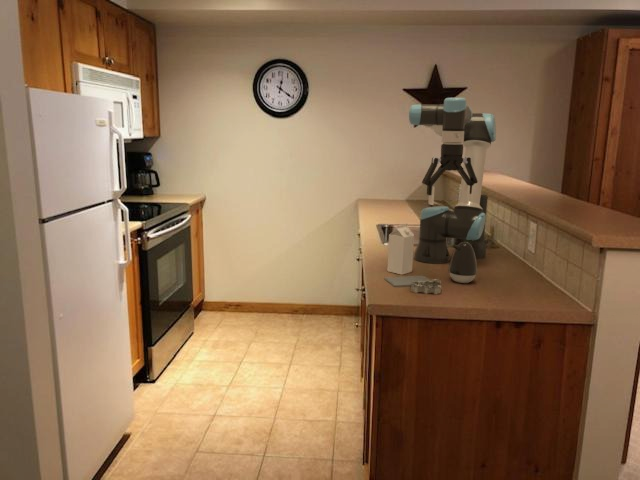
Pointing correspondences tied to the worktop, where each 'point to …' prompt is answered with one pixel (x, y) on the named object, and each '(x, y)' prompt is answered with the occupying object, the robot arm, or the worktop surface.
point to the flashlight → (479, 244)
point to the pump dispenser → (463, 263)
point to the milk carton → (400, 250)
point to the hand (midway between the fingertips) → (448, 203)
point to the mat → (405, 280)
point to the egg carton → (426, 286)
